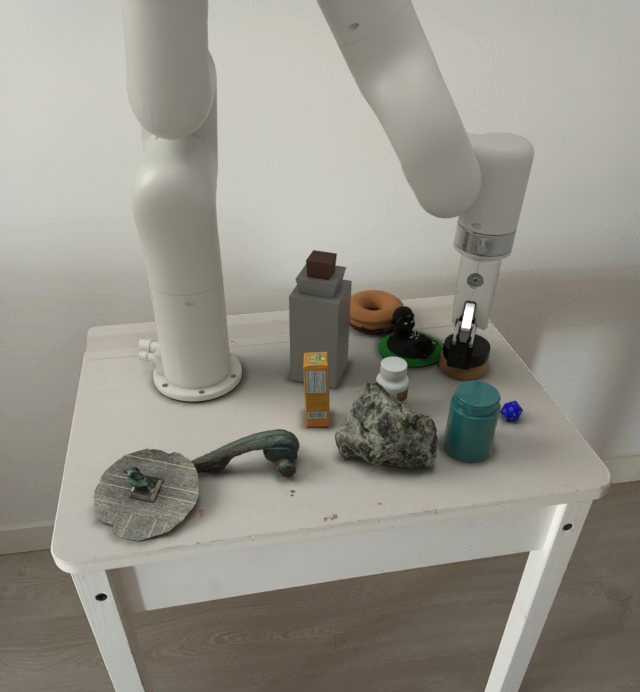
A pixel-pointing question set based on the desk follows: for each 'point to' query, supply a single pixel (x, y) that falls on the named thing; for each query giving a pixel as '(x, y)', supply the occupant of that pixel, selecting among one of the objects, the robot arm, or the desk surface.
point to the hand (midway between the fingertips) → (461, 349)
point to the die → (511, 411)
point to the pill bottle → (394, 377)
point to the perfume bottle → (320, 315)
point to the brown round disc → (461, 370)
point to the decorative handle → (273, 443)
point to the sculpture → (146, 493)
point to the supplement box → (316, 389)
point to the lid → (479, 351)
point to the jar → (472, 421)
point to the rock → (387, 431)
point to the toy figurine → (409, 341)
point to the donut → (373, 310)
